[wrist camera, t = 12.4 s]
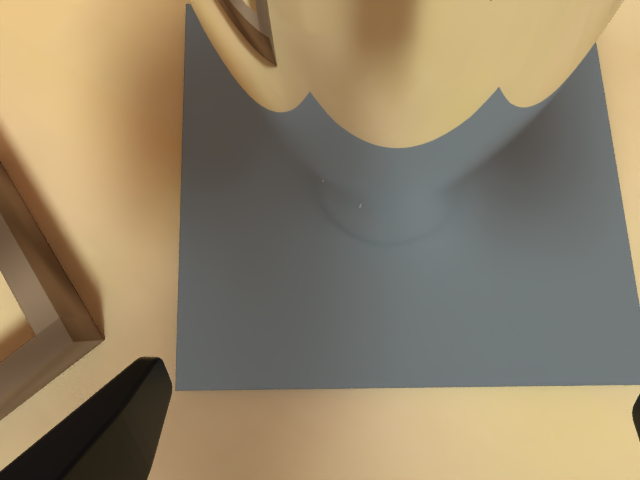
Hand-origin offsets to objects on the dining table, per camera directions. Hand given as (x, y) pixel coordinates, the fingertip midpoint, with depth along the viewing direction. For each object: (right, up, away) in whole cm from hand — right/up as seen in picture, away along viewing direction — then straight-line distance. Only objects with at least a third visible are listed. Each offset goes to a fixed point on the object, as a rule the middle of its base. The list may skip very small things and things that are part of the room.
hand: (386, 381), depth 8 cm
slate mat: (+1, +6, +11) cm, 12 cm away
